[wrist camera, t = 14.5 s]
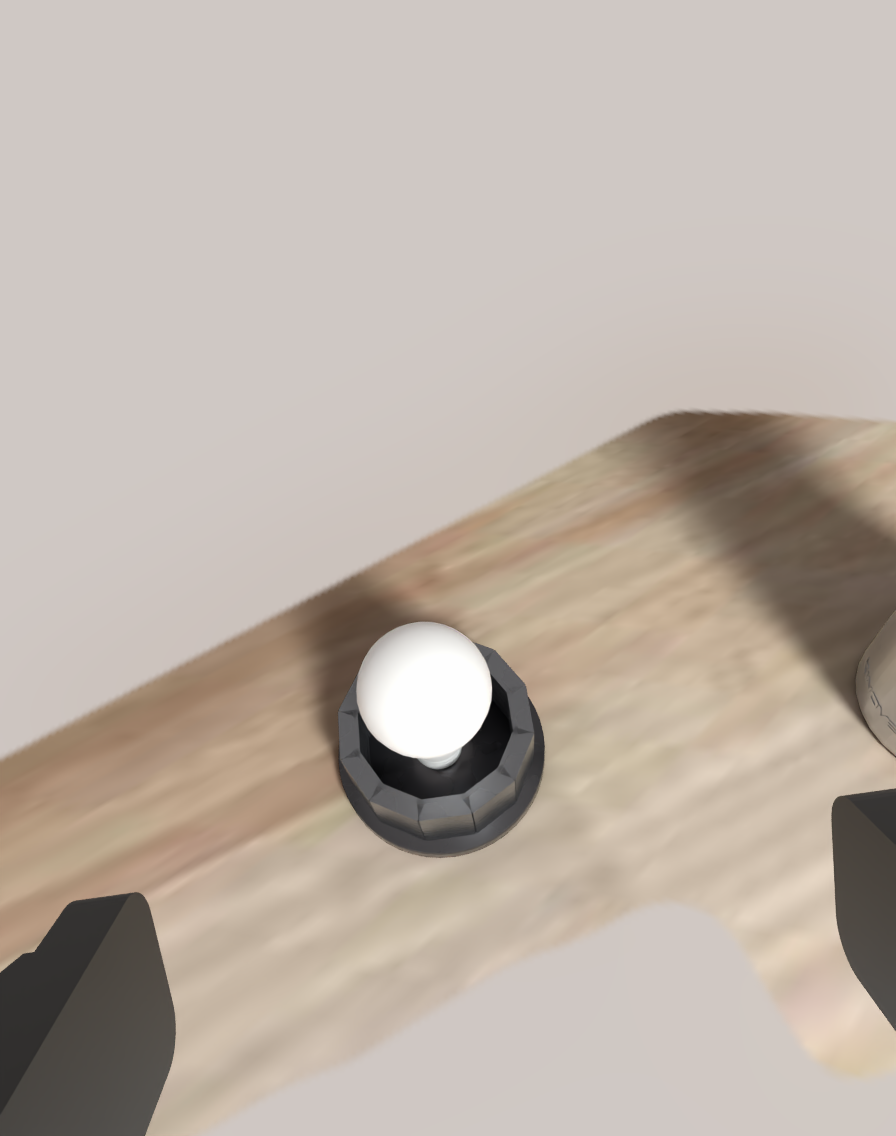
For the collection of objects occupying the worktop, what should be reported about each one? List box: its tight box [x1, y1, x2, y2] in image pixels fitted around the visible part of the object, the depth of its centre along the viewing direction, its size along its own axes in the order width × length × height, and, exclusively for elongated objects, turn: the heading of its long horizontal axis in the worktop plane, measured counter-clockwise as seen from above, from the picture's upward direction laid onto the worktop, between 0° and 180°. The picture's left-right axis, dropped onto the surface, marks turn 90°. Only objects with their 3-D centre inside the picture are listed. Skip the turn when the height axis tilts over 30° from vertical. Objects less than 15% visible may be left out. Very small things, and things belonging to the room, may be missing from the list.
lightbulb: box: [356, 622, 492, 769], centre depth 40 cm, size 6×6×11 cm
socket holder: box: [338, 642, 545, 858], centre depth 44 cm, size 11×11×4 cm
